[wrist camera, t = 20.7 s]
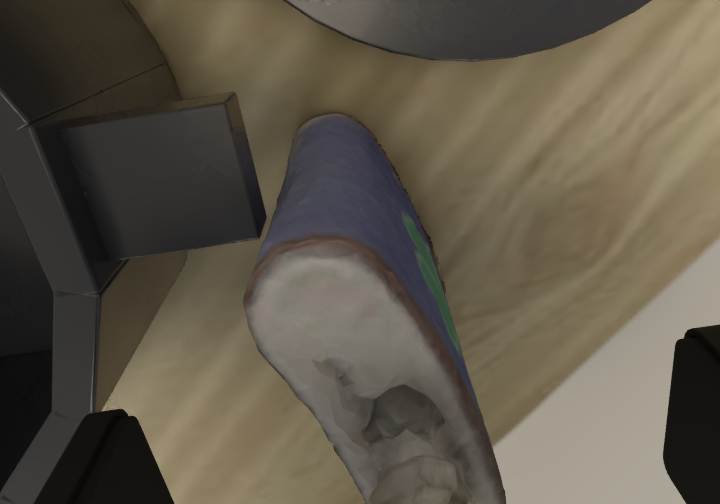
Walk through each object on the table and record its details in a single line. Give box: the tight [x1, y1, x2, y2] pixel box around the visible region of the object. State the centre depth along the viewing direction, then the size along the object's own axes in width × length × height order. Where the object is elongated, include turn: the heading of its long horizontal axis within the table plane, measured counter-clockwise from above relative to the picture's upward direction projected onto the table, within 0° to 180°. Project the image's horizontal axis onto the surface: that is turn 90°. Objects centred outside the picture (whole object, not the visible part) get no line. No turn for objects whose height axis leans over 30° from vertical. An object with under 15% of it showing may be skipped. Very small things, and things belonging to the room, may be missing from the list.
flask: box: [243, 113, 506, 504], centre depth 13 cm, size 9×3×11 cm, turn 21°
